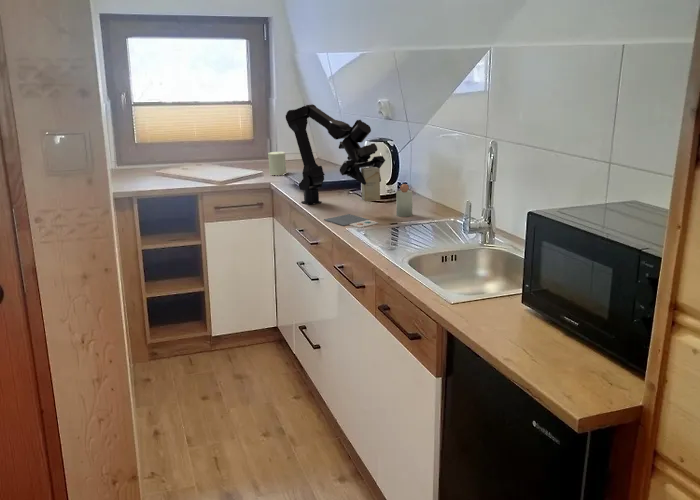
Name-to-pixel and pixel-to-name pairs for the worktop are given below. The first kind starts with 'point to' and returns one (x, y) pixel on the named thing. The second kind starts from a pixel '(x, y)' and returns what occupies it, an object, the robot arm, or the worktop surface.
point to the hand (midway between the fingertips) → (372, 182)
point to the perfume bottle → (404, 201)
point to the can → (277, 163)
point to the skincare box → (371, 184)
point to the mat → (345, 219)
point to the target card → (363, 223)
